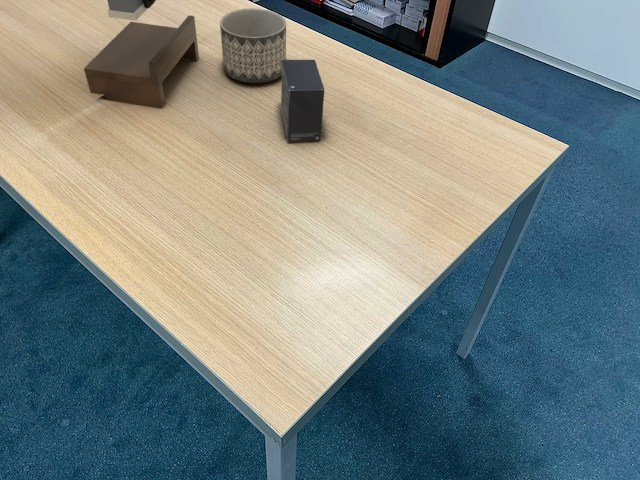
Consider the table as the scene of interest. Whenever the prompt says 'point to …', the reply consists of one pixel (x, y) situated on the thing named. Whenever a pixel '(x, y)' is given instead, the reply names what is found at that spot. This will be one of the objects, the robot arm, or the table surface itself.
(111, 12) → the grey block on plinth
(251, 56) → the planter
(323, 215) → the table surface
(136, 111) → the table surface
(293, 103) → the small box
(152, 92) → the shelf
